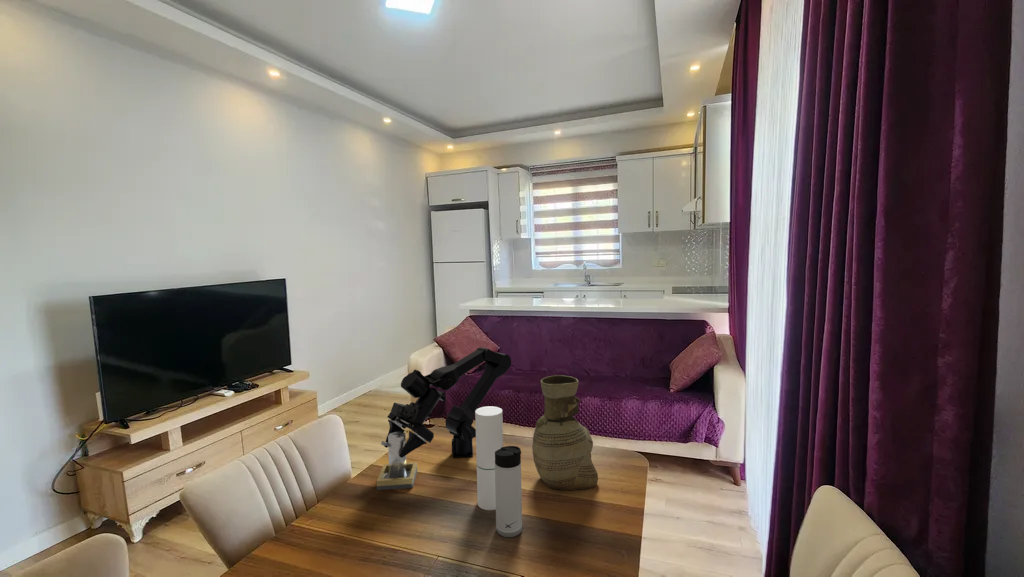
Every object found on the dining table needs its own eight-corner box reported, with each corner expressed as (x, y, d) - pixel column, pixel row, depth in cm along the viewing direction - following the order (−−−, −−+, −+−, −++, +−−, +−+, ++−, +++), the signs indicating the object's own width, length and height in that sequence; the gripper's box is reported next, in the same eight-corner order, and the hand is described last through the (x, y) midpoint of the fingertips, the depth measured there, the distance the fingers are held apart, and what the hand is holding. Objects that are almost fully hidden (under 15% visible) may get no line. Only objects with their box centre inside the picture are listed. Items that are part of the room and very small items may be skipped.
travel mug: (512, 542, 96) (511, 457, 95) (490, 531, 100) (489, 449, 99) (528, 527, 101) (527, 447, 100) (506, 518, 105) (505, 440, 103)
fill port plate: (417, 470, 130) (416, 462, 129) (412, 487, 120) (412, 478, 120) (384, 472, 129) (383, 464, 129) (376, 490, 119) (376, 481, 119)
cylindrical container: (505, 495, 115) (503, 406, 113) (502, 510, 108) (500, 416, 106) (480, 494, 116) (477, 406, 114) (475, 509, 109) (472, 415, 107)
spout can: (401, 470, 128) (400, 430, 127) (409, 476, 124) (408, 435, 123) (378, 478, 123) (377, 437, 122) (386, 485, 119) (385, 442, 118)
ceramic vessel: (603, 466, 130) (602, 371, 128) (593, 503, 110) (592, 392, 109) (544, 457, 137) (542, 367, 135) (524, 491, 117) (522, 386, 115)
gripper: (391, 385, 132) (359, 429, 125) (423, 398, 119) (388, 449, 112) (414, 403, 138) (384, 447, 131) (447, 418, 124) (415, 467, 118)
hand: (392, 451), depth 123 cm, fingers open, 9 cm apart
